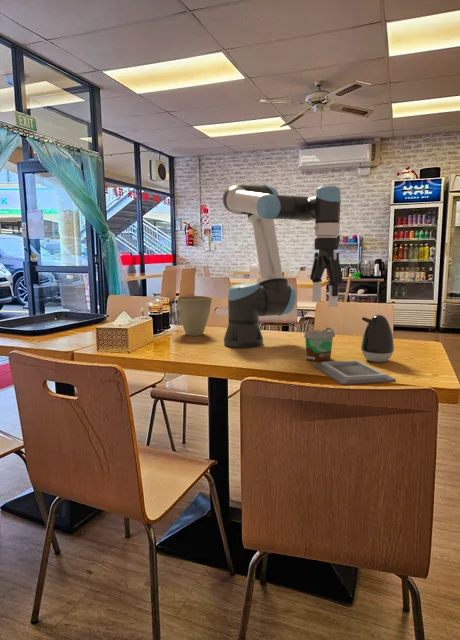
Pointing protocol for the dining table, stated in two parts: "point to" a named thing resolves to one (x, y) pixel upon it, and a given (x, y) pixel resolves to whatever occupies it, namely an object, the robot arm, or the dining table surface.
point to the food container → (319, 345)
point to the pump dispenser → (377, 339)
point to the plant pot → (194, 313)
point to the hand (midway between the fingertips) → (324, 304)
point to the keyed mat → (352, 372)
